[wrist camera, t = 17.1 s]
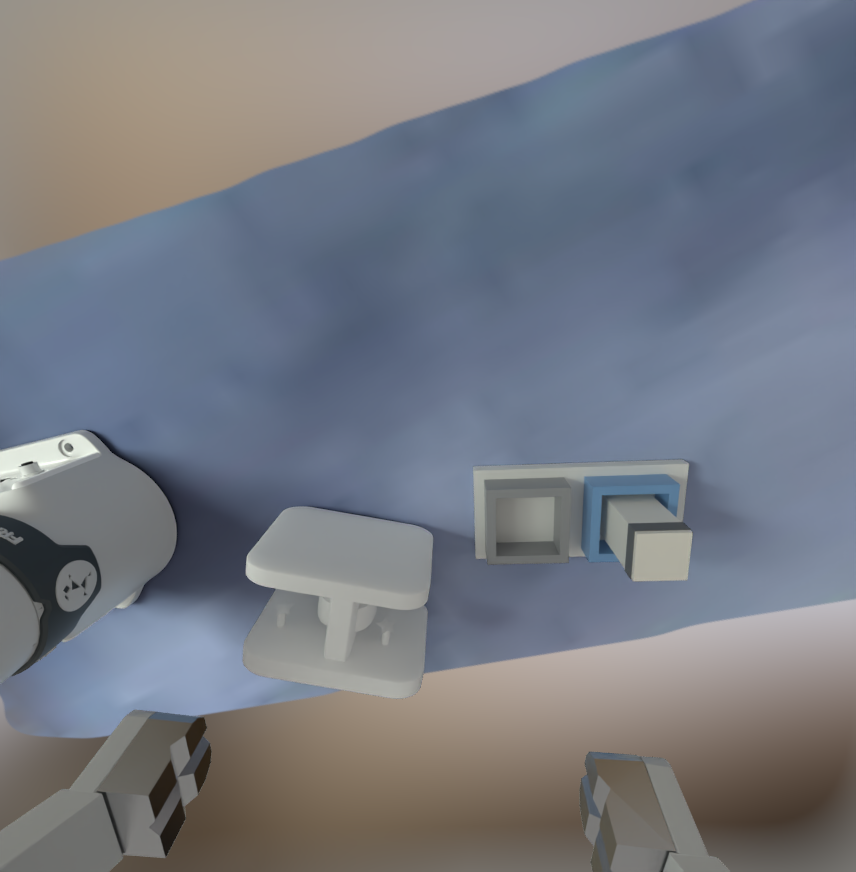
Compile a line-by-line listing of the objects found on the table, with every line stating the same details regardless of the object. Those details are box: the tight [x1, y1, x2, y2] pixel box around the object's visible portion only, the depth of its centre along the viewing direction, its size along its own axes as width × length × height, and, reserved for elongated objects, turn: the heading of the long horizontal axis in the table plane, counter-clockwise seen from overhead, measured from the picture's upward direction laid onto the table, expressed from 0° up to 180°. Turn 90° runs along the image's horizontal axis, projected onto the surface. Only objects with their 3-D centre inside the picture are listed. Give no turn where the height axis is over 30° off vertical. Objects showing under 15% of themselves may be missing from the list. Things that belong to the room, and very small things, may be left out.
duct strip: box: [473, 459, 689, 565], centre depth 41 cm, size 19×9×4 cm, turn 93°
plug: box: [600, 494, 693, 581], centre depth 38 cm, size 4×4×8 cm
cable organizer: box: [243, 506, 433, 699], centre depth 40 cm, size 15×11×12 cm
